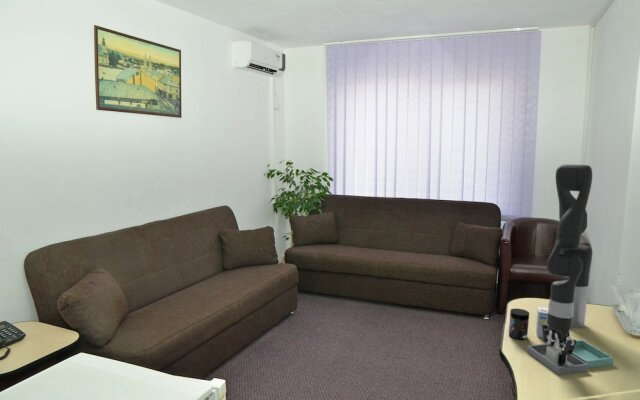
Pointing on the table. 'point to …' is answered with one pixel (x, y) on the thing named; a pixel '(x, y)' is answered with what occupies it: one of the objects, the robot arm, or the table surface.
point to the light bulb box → (541, 320)
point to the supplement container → (518, 324)
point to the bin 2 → (591, 354)
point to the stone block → (553, 354)
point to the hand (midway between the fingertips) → (556, 359)
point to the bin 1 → (569, 368)
